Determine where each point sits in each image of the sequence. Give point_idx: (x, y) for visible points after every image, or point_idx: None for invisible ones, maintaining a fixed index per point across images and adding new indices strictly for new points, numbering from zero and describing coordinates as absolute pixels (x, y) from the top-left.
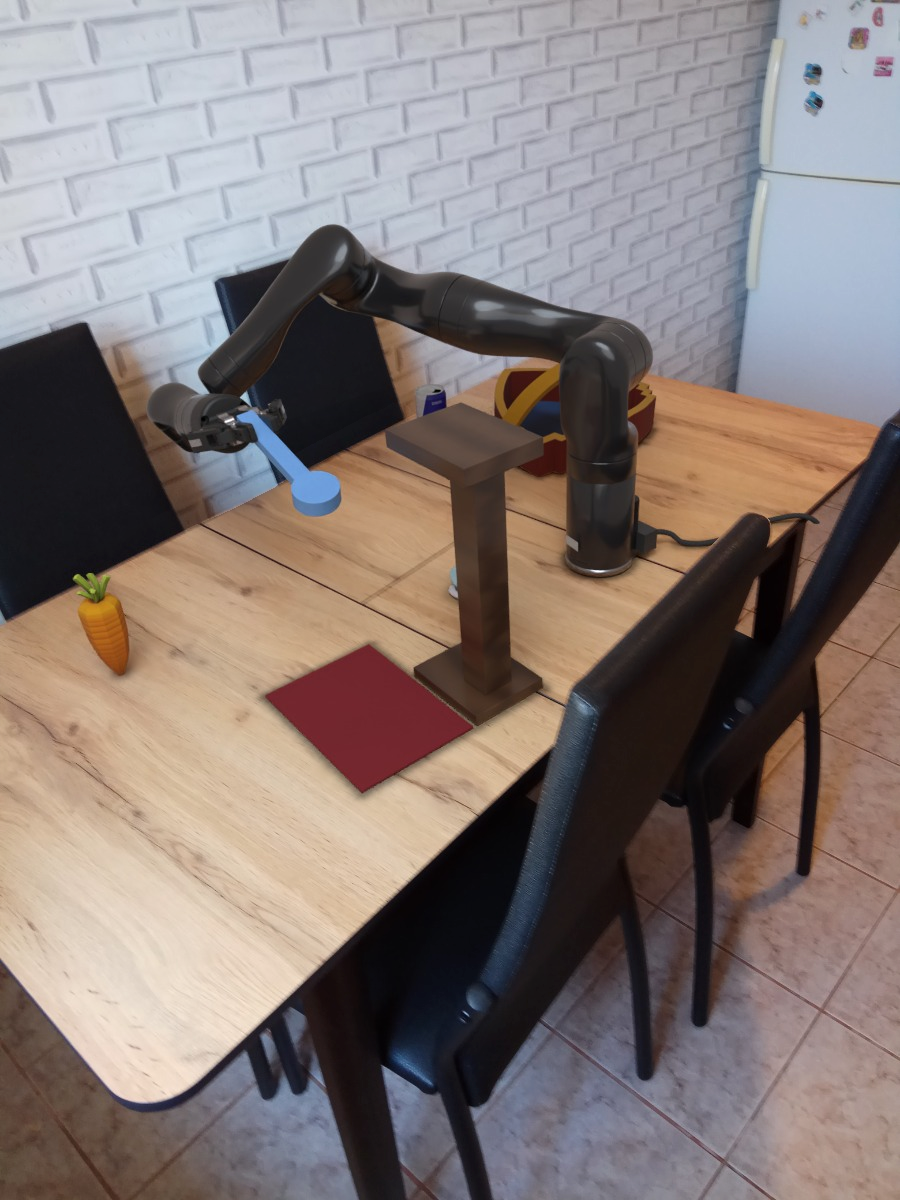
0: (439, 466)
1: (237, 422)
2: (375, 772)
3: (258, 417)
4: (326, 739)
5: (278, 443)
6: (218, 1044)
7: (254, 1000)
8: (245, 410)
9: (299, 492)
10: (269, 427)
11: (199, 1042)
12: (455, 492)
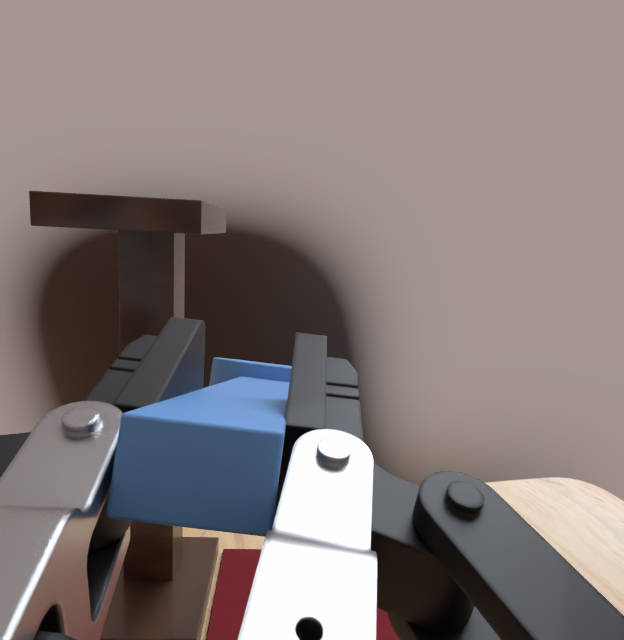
0: (220, 220)
1: (311, 432)
2: None
3: (167, 400)
4: (382, 625)
5: (232, 386)
6: (539, 481)
7: (514, 486)
8: (39, 579)
9: None
10: (193, 384)
11: (552, 486)
12: (176, 278)
